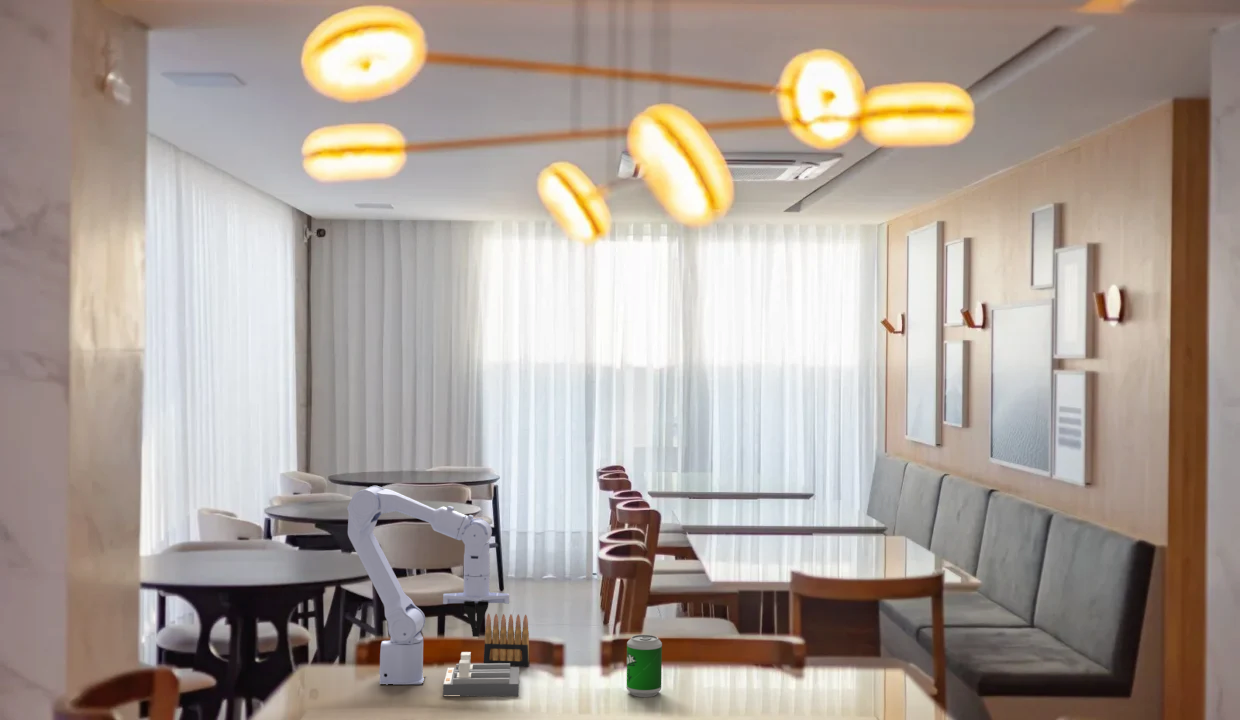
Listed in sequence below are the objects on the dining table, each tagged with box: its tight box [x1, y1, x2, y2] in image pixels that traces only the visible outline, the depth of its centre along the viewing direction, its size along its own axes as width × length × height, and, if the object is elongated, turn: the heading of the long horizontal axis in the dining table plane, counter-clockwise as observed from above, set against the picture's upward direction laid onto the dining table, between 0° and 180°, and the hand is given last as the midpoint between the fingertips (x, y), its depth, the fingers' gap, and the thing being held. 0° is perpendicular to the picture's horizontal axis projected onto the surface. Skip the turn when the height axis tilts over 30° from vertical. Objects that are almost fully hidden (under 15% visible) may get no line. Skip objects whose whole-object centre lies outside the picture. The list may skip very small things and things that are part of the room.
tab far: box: [458, 651, 473, 670], centre depth 264 cm, size 3×4×4 cm
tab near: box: [457, 659, 471, 678], centre depth 257 cm, size 3×4×4 cm
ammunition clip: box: [482, 613, 531, 668], centre depth 281 cm, size 11×2×12 cm, turn 86°
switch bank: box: [442, 663, 520, 697], centre depth 261 cm, size 16×14×4 cm
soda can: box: [626, 634, 663, 698], centre depth 258 cm, size 8×8×12 cm
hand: (475, 635), depth 265 cm, fingers closed
